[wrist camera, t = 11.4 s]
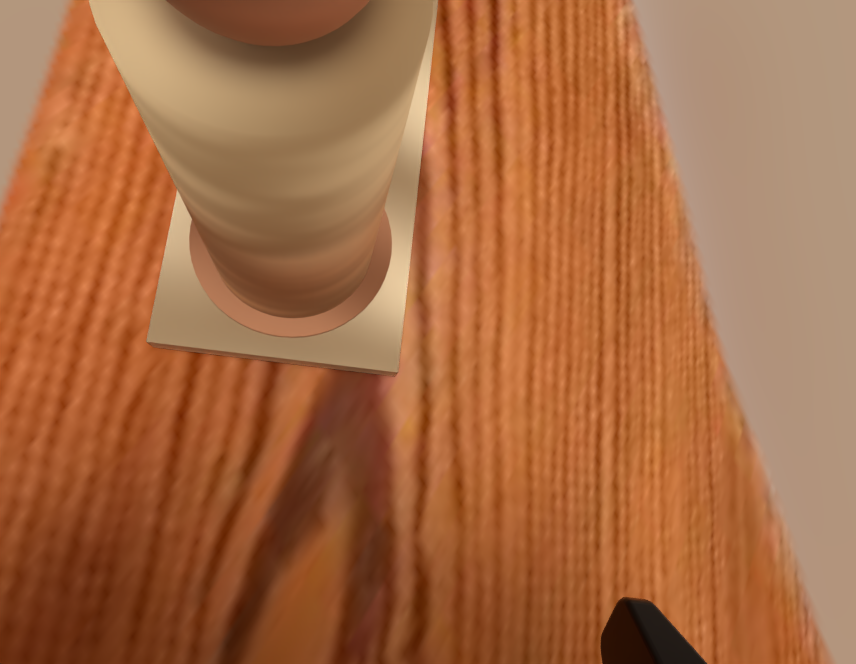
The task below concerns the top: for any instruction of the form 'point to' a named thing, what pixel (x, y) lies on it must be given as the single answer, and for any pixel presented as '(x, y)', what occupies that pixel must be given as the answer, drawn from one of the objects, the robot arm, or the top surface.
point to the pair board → (311, 336)
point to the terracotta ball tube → (276, 129)
